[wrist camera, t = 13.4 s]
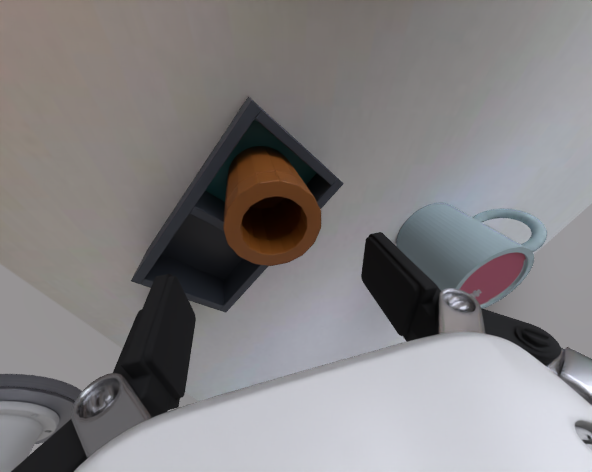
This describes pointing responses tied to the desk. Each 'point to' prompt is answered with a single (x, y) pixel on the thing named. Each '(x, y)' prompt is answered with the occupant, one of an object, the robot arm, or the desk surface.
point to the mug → (470, 250)
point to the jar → (268, 208)
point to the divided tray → (210, 215)
